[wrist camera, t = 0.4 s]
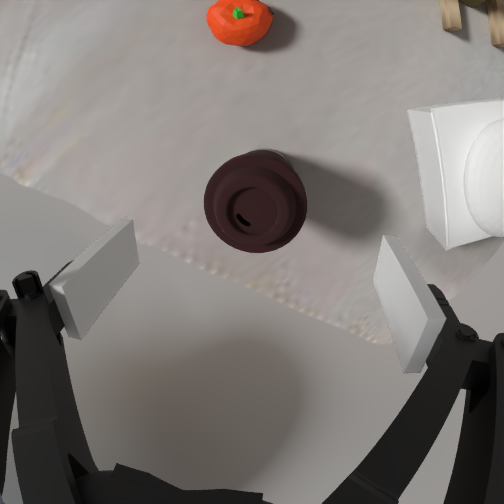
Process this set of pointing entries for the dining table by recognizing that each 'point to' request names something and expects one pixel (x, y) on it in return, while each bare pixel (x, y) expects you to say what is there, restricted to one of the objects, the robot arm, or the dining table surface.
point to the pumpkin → (239, 21)
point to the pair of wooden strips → (499, 15)
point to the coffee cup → (256, 202)
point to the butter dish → (461, 169)
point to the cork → (472, 2)
